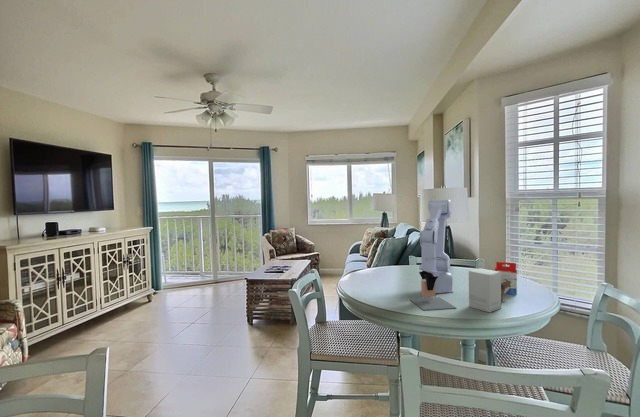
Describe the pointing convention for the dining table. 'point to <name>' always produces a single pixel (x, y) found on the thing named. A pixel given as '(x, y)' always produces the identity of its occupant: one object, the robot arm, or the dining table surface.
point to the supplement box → (485, 289)
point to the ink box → (508, 276)
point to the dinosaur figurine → (503, 287)
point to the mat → (432, 303)
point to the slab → (425, 290)
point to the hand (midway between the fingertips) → (428, 289)
